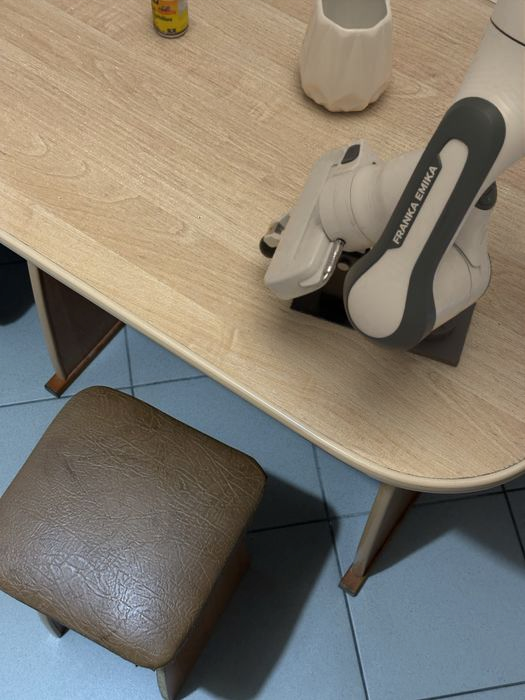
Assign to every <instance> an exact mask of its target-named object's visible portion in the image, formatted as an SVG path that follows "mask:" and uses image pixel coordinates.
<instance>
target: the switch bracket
mask: <svg viewBox="0 0 525 700" xmlns="http://www.w3.org/2000/svg"><path fill="white" fill-rule="evenodd" d="M371 249H372V247H371V248H367V249H366V250H365V253H364V254H363V253H360V252H357V251H354V252H347V251H344V250H342V253H341V255H340V257H339V259H338V261H337V263H336V268H335V271H334V273H333V274H332V276H331V277H330V278H329V280H328V281H327V283H326V284H325V285H324V286H322V287H321V288H319V289H317V290H315V291H313V292H310V293H308V294H305V295H302V296H299V297H296V298H292V301H291V304H290V306H289V310H292V311H294V312H298V313H301V314H304V315H307V316H310V317H313V318H316V319H319V320H322V321H326V322H328V323H331V324H335V325H338V326H341V327H344V328H346V329H349V330H353V331H356V330H355V329H354V327H353V326H352V324H351V323H350V321H349V319H348V316H347V314H346V310H345V306H344V299H343V287H344V281H345V277H346V275H347V273H348V271H349V270H350V268H351V267H352V266H353V265H354V264H355V263H356V262H357V261H358V260H359V259H360V258H362V257H363V256H364V255H365V254H366V253H368V252H369V251H370V250H371ZM356 332H357V331H356Z"/></svg>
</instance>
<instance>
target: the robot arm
mask: <svg viewBox="0 0 525 700" xmlns="http://www.w3.org/2000/svg"><path fill="white" fill-rule="evenodd" d="M523 158H525V0H497V1H496V3H495V5H494V7H493V10H492V12H491V14H490V16H489V19H488V21H487V23H486V26H485V28H484V31H483V33H482V35H481V37H480V40H479V41H478V45H477V47H476V49H475V51H474V53H473V56H472V58H471V60H470V63H469V65H468V66H467V68H466V71H465V73H464V75H463V77H462V80H461V82H460V83H459V86H458V88H457V89H456V92H455V94H454V96H453V97H452V99H451V101H450V103H449V104H448V107H447V108H446V111H445V112H444V115H443V116H442V118H441V120H440V122H439V123H438V126H437V128H435V131H434V132H433V134H432V136H431V137H430V139H429V141H428V143H427V145H426V146H424V147H419V148H416V149H413V150H409V151H406V152H403V153H399V154H397V155H395V156H393V157H391V158H390V159H389V160H387V161H384V160H383V159H382V157H380V155H379V154H378V153H377V152H376V151H375V149H374V148H373V147H372V146H371V145H370V144H369V143H368V142H367V141H366V140H365V139H364V138H358V139H356V140H353V141H352V142H351V143H349V144H347V145H346V144H345V145H341V146H338V147H335V148H332V149H330V150H328V151H326V152H323V153H321V154H320V155H319V156H318V157H317V158H316V159H315V160H314V161H313V163H312V164H311V166H310V169H309V172H308V173H307V177H306V179H305V181H304V183H303V185H302V187H301V190H300V193H299V195H298V197H297V199H296V202H295V203H294V207H290V208H289V210H287V211H286V212H285V213H284V214H282V215H281V216H280V217H279V218H275V219H273V220H271V221H270V223H269V226H268V229H267V230H266V233H265V235H264V236H265V237H264V239H263V240H264V242H266V243H267V244H268V245H269V246H270V247H276V246H277V248H276V251H275V253H274V255H273V258H272V259H271V260H270V261H269V262H270V263H269V264H268V267H267V270H266V272H265V274H264V276H263V283H264V285H265V286H266V287H267V289H268V290H269V291H270V292H271V293H272V294H274V295H275V296H276V297H277V298H278V299H280V300H282V301H289V300H293V299H294V298H296V297H299V296H302V295H305V294H308V293H310V292H313V291H315V290H317V289H319V288H321V287H322V286H324V285H325V284H326V283H327V281H328V280H329V278H330V277H331V276H332V274H333V273H334V271H335V268H336V263H337V261H338V259H339V257H340V255H341V253H342V250H344V251H347V252H354V251H358V250H362V249H367V248H371V250H370V251H369V252H368V253H366V254H365V255H364V256H363V257H362V258H360V259H359V260H358V261H357V262H356V263H355V264H354V265H353V266H352V267H351V268H350V270H349V271H348V273H347V275H346V277H345V281H344V287H343V299H344V306H345V310H346V314H347V316H348V319H349V321H350V323H351V324H352V326H353V327H354V329H355V330H356V333H357V334H358V335H359V336H360V337H361V338H362V339H363V340H365V341H366V342H368V343H369V344H371V345H372V346H375V347H377V348H380V349H382V350H385V351H389V352H394V353H395V352H397V353H398V352H405V351H406V350H409V349H411V348H413V347H414V346H415V345H417V344H418V343H419V342H420V341H421V340H423V339H424V338H425V337H426V336H427V335H428V334H430V333H431V331H433V330H434V329H436V328H437V327H439V326H440V325H442V324H444V323H445V322H447V321H448V320H450V319H451V318H453V317H454V316H456V315H457V314H458V313H460V312H461V311H463V310H464V309H466V308H467V307H469V306H470V305H472V304H473V303H474V302H476V303H477V302H478V301H479V300H480V299H481V298H482V297H483V296H484V294H485V293H486V292H487V291H488V288H489V286H490V283H491V280H492V272H493V269H492V268H493V267H492V261H491V256H490V254H489V250H488V232H489V225H490V219H491V216H492V213H493V211H494V209H495V207H496V205H497V201H498V185H497V181H496V180H497V179H498V178H500V177H501V175H503V174H504V173H505V172H506V171H507V170H509V169H510V168H511V167H513V166H514V165H515V164H517V163H518V162H519V161H520V160H522V159H523ZM355 330H354V331H355ZM406 352H407V351H406Z"/></svg>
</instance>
